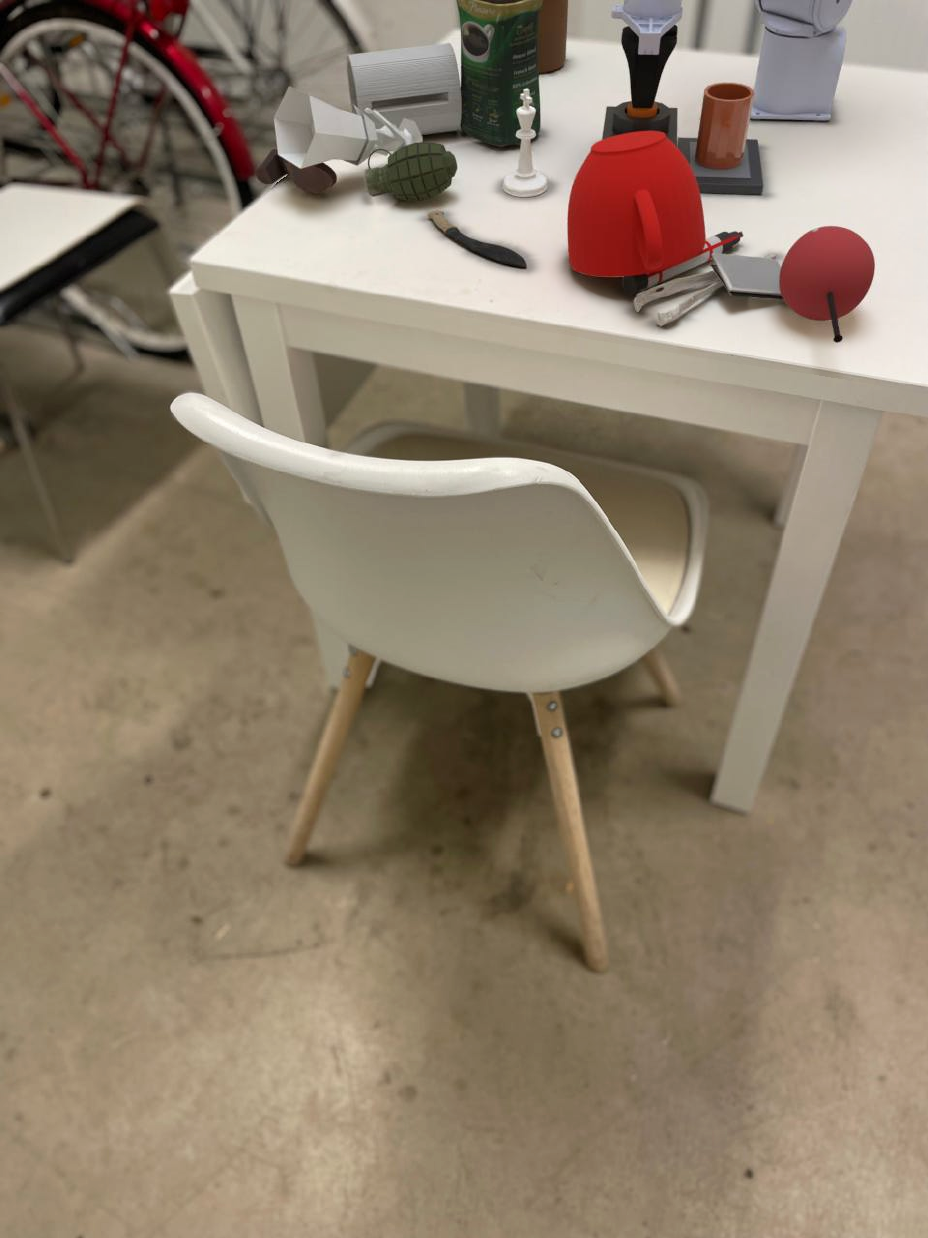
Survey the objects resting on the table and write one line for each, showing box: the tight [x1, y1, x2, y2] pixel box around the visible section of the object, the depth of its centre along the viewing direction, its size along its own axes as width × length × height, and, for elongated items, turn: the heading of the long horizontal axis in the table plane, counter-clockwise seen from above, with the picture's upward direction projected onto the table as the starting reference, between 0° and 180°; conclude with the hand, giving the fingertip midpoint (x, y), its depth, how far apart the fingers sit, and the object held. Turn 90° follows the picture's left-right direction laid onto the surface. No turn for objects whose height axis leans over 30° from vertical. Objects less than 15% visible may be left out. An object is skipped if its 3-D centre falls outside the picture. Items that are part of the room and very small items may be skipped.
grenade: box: [364, 141, 458, 202], centre depth 103 cm, size 6×7×10 cm
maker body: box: [601, 100, 678, 147], centre depth 105 cm, size 8×12×6 cm, turn 171°
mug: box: [538, 0, 569, 74], centre depth 125 cm, size 12×8×9 cm, turn 125°
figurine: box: [273, 85, 424, 169], centre depth 104 cm, size 7×8×18 cm
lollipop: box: [779, 225, 876, 344], centre depth 80 cm, size 8×8×15 cm
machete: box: [427, 210, 527, 269], centre depth 97 cm, size 15×3×1 cm, turn 40°
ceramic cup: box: [566, 131, 707, 278], centre depth 87 cm, size 13×17×10 cm
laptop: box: [710, 253, 784, 301], centre depth 87 cm, size 7×6×2 cm
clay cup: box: [694, 82, 754, 169], centre depth 103 cm, size 5×5×7 cm
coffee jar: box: [455, 0, 543, 147], centre depth 108 cm, size 10×8×19 cm
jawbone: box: [632, 252, 778, 327], centre depth 89 cm, size 17×5×2 cm, turn 127°
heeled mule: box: [255, 148, 338, 195], centre depth 106 cm, size 4×11×4 cm
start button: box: [627, 102, 658, 118], centre depth 103 cm, size 3×3×2 cm
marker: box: [621, 230, 744, 296], centre depth 91 cm, size 15×2×2 cm
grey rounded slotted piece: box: [346, 42, 462, 136], centre depth 112 cm, size 9×9×12 cm
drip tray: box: [677, 137, 764, 195], centre depth 106 cm, size 9×12×1 cm
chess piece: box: [502, 89, 548, 198], centre depth 101 cm, size 5×5×10 cm
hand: (642, 105), depth 102 cm, fingers closed, pressing on start button
